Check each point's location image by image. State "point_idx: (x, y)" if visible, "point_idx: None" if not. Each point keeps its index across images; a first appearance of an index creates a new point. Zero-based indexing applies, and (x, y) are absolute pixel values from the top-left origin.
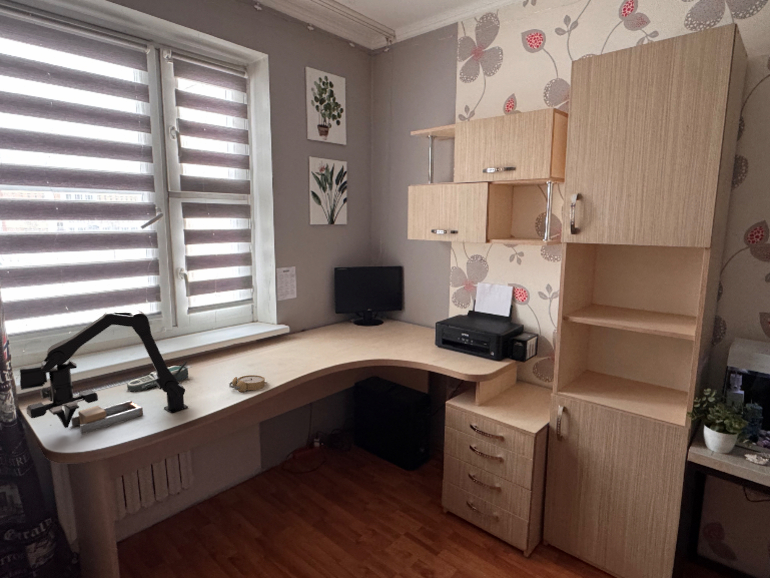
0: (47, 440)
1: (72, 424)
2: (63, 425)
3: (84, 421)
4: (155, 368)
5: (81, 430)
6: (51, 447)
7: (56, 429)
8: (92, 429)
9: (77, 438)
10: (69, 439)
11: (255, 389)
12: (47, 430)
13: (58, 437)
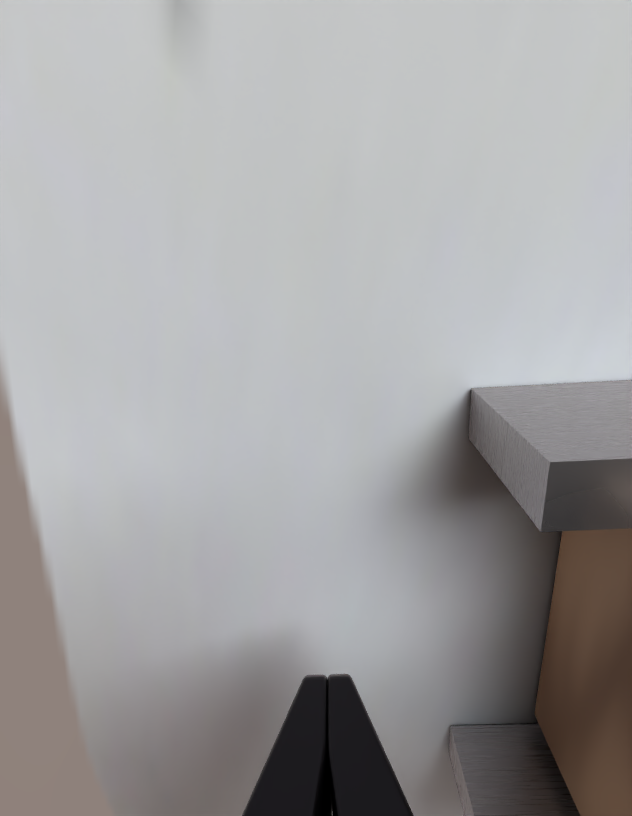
0: (94, 646)
1: (480, 445)
2: (289, 730)
3: (617, 792)
4: None
5: (465, 808)
6: (125, 813)
7: (236, 355)
8: None
9: None
10: None
11: None
12: (102, 279)
13: (216, 653)
